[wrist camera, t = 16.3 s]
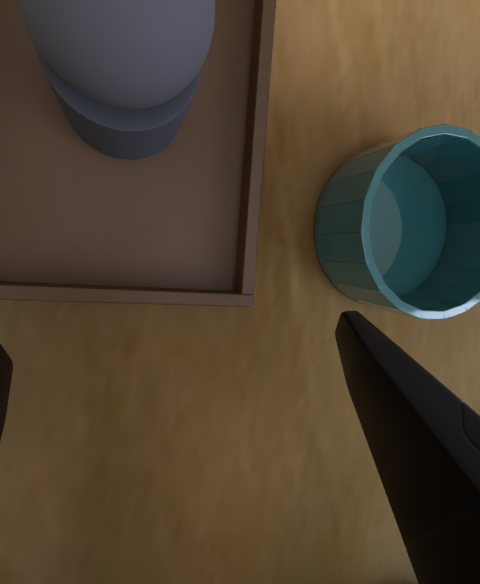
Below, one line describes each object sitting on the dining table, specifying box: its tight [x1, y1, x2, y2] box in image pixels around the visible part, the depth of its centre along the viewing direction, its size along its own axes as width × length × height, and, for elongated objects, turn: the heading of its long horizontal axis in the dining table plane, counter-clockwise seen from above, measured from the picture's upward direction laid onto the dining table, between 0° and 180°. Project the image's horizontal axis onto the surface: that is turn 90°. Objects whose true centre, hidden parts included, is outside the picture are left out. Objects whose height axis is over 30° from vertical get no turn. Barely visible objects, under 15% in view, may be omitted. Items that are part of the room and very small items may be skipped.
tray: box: [0, 0, 276, 307], centre depth 18 cm, size 20×14×2 cm
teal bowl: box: [314, 124, 480, 319], centre depth 22 cm, size 10×10×5 cm
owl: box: [16, 0, 215, 160], centre depth 13 cm, size 6×6×11 cm
